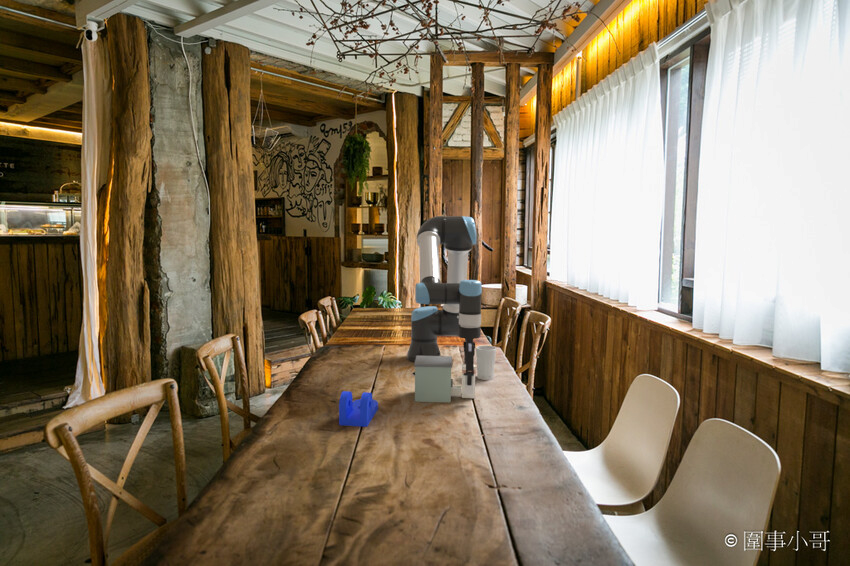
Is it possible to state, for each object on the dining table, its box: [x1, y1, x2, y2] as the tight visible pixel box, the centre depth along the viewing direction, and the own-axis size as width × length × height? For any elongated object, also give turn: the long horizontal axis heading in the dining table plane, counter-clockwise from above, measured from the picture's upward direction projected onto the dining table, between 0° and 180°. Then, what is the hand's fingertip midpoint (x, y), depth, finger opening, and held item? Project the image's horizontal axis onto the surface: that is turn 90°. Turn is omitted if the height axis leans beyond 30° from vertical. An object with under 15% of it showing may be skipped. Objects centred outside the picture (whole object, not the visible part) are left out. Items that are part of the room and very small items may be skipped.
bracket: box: [338, 390, 379, 428], centre depth 147 cm, size 18×8×9 cm, turn 173°
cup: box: [475, 345, 497, 381], centre depth 187 cm, size 8×8×12 cm
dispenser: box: [413, 355, 454, 404], centre depth 164 cm, size 13×12×13 cm
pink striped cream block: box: [451, 363, 477, 399], centre depth 164 cm, size 14×3×11 cm, turn 87°
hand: (468, 388), depth 164 cm, fingers open, 11 cm apart
